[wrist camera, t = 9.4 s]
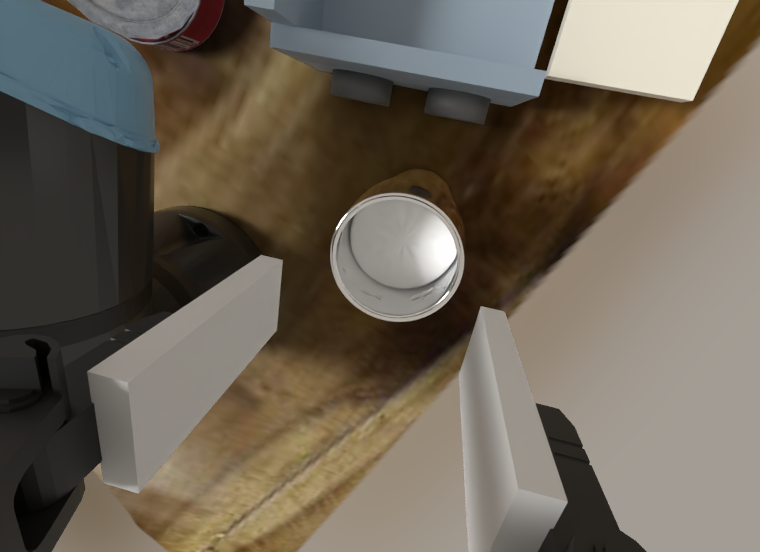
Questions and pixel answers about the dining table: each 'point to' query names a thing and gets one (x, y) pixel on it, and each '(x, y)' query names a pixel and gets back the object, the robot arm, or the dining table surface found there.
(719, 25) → the tailgate
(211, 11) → the canned food
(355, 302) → the beer glass
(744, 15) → the dining table surface
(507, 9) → the trailer
